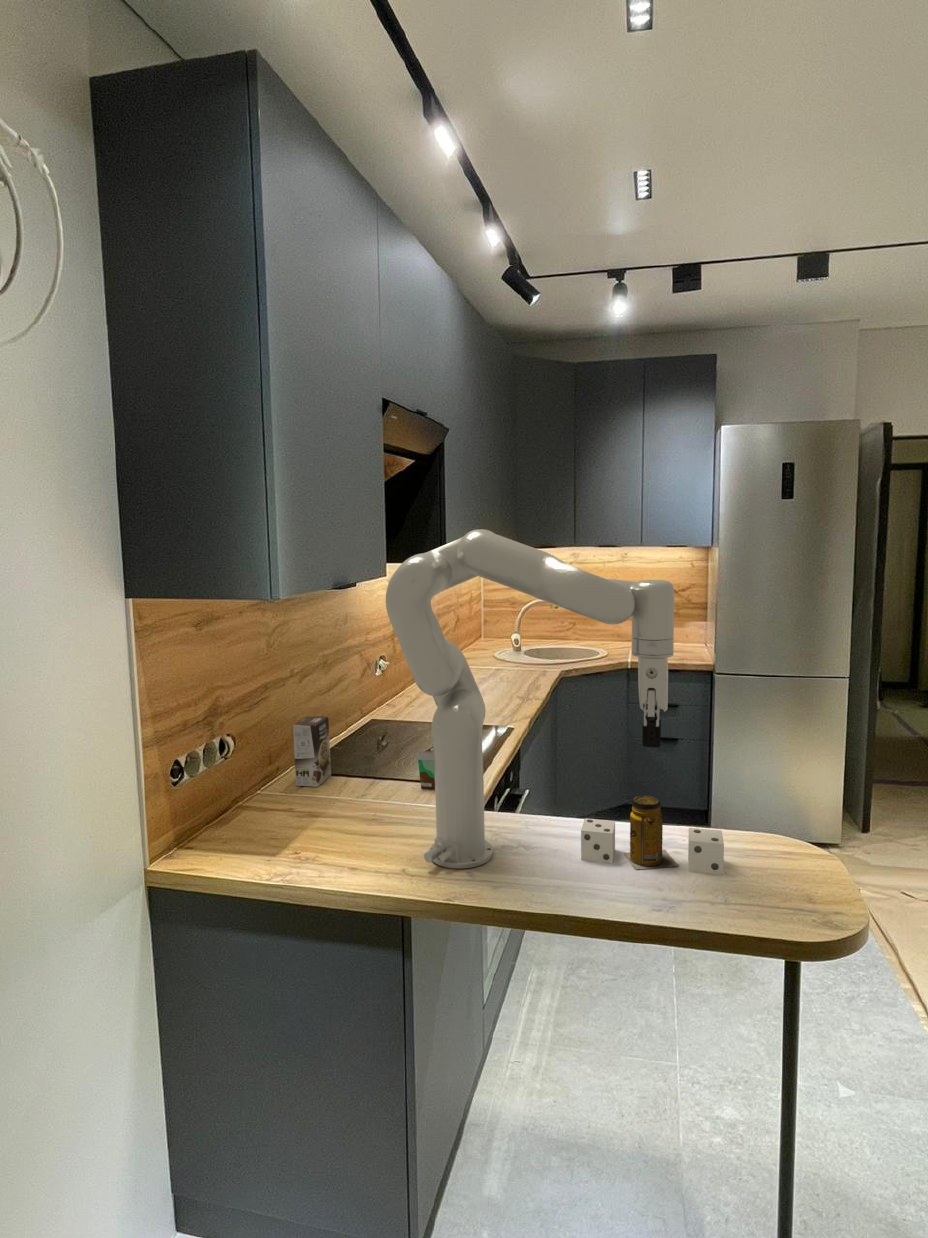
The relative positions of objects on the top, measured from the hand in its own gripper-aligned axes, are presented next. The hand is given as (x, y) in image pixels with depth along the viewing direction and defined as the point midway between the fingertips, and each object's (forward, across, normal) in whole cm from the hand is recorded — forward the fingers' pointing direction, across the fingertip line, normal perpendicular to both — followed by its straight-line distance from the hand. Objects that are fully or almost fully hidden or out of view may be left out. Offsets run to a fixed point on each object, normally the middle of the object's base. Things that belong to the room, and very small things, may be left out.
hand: (651, 742), depth 136 cm
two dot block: (+23, 0, -10) cm, 25 cm away
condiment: (+24, 0, 0) cm, 24 cm away
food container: (+23, +30, +52) cm, 64 cm away
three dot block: (+23, 0, +10) cm, 25 cm away
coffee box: (+23, +27, +85) cm, 93 cm away
